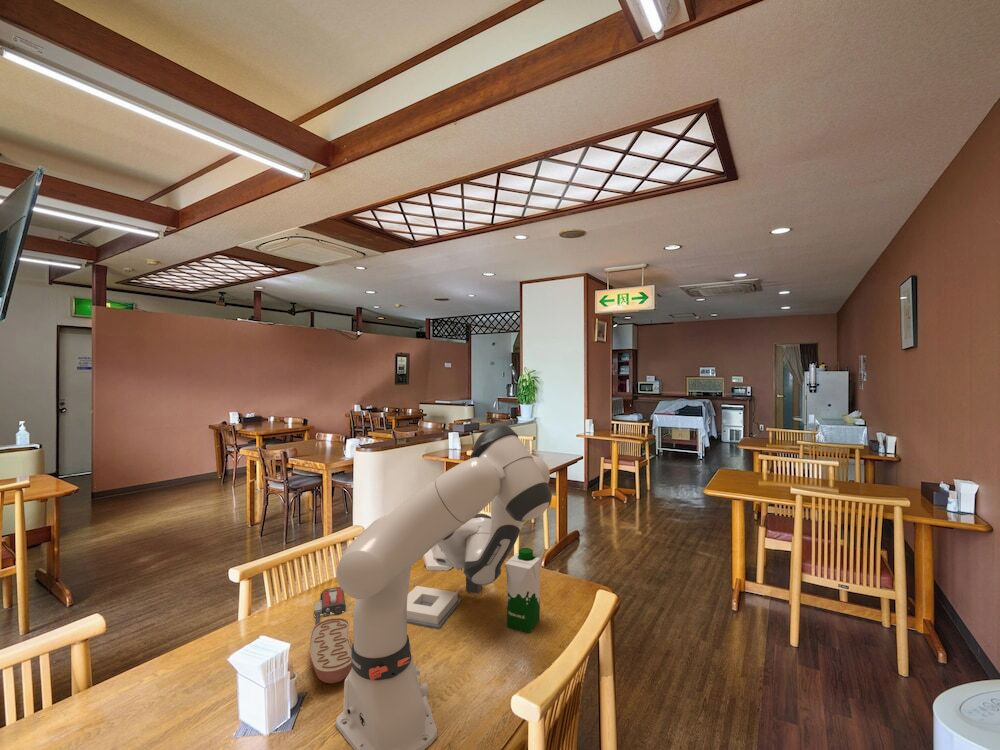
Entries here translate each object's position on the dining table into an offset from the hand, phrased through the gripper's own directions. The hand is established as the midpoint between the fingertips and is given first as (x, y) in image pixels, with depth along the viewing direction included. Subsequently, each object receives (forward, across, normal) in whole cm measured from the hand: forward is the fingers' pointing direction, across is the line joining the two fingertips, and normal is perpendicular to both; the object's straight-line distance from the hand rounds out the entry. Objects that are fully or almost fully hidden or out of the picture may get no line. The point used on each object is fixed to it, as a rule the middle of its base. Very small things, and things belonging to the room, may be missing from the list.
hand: (474, 569), depth 148 cm
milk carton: (-4, -20, +14) cm, 25 cm away
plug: (+6, +1, +4) cm, 7 cm away
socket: (-6, +9, +15) cm, 19 cm away
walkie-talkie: (-12, +37, +22) cm, 44 cm away
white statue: (+17, +19, -6) cm, 26 cm away
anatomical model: (-26, +21, +36) cm, 49 cm away
